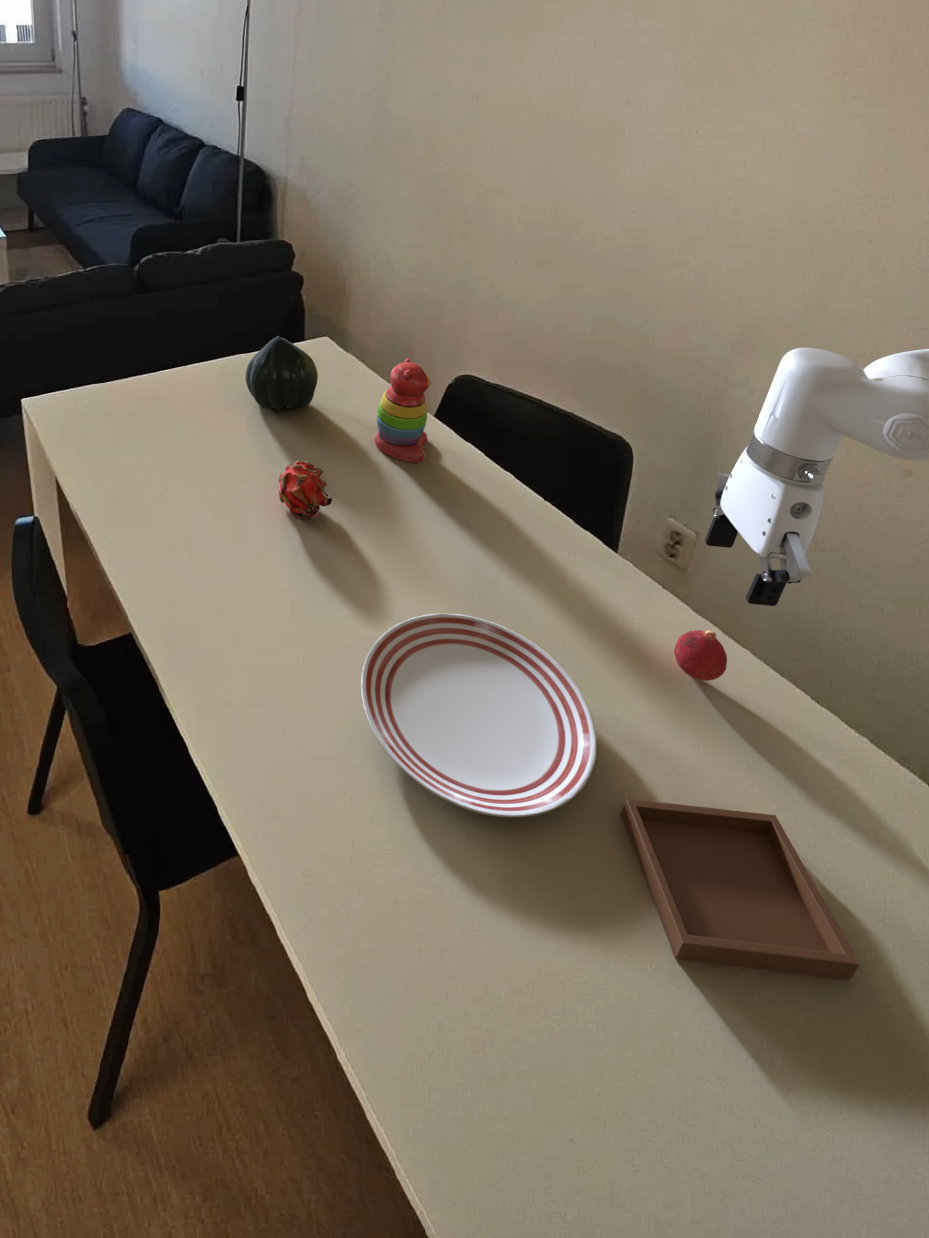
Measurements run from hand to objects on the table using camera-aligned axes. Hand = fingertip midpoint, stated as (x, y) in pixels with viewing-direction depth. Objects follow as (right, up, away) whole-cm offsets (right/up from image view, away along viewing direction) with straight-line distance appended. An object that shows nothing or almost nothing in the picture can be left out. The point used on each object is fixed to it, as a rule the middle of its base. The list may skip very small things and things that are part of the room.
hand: (738, 572), depth 92 cm
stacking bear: (-29, +5, +57) cm, 64 cm away
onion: (0, -17, +9) cm, 19 cm away
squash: (-51, +12, +70) cm, 88 cm away
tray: (-12, -27, -15) cm, 33 cm away
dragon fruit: (-50, -2, +38) cm, 62 cm away
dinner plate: (-32, -19, +2) cm, 37 cm away
